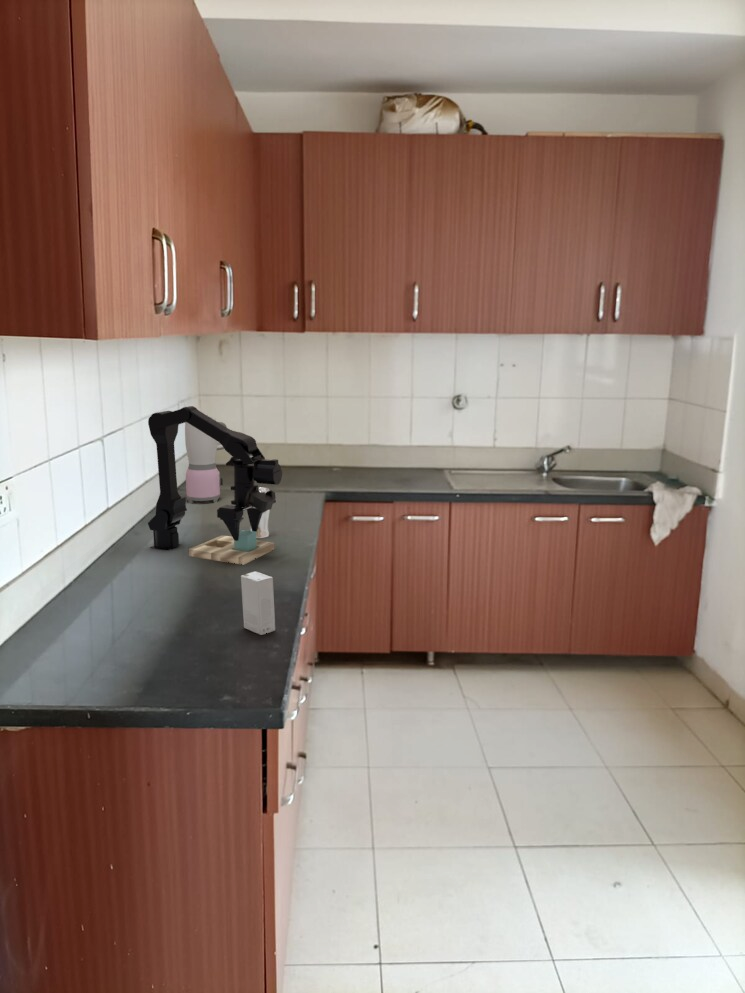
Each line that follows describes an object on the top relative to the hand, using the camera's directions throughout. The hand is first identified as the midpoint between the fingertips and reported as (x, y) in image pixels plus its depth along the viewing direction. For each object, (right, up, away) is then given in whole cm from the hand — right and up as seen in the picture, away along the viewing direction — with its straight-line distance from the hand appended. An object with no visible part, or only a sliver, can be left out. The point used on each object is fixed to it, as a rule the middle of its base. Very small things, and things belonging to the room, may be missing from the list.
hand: (245, 536), depth 211 cm
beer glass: (+1, -1, +21) cm, 21 cm away
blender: (-26, +10, +69) cm, 74 cm away
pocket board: (-4, -5, +3) cm, 7 cm away
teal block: (0, -5, +1) cm, 5 cm away
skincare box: (+11, -17, -49) cm, 54 cm away
